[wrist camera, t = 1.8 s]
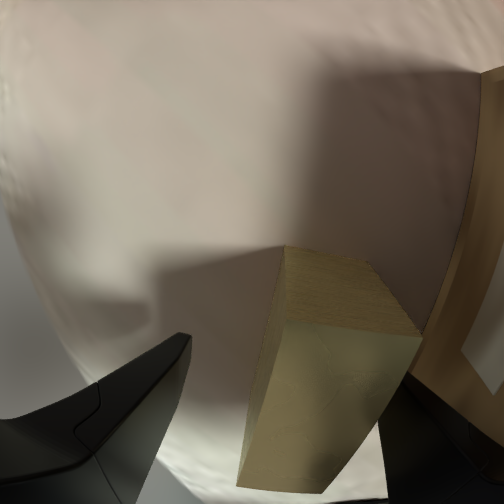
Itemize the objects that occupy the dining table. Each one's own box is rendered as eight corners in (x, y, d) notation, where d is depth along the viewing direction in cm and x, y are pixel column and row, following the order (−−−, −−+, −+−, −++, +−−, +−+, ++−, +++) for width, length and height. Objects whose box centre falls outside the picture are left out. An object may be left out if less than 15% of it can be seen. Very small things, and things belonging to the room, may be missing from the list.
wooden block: (314, 402, 12) (321, 493, 7) (250, 392, 12) (235, 486, 8) (366, 260, 10) (423, 338, 5) (284, 244, 10) (286, 319, 5)
